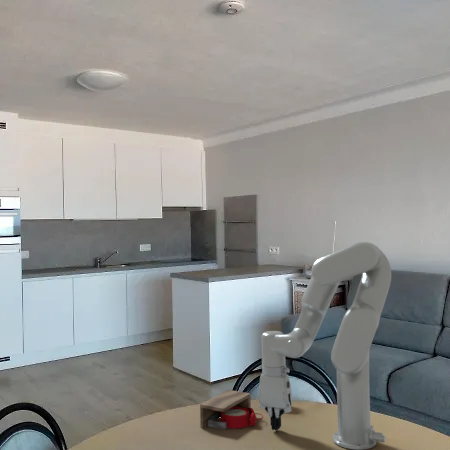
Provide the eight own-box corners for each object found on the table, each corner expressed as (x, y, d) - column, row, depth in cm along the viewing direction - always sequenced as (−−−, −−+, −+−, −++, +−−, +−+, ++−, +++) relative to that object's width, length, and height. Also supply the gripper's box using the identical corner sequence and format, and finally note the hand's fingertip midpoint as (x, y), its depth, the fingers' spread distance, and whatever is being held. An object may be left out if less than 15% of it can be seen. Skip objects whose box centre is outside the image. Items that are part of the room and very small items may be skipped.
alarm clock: (215, 408, 166) (257, 396, 167) (219, 426, 166) (261, 414, 167) (217, 419, 156) (261, 406, 157) (221, 438, 156) (266, 425, 157)
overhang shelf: (250, 415, 168) (250, 393, 169) (223, 432, 153) (223, 408, 153) (228, 411, 173) (228, 389, 173) (200, 427, 158) (200, 404, 158)
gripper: (300, 370, 154) (302, 428, 153) (258, 365, 162) (260, 421, 161) (290, 376, 147) (292, 437, 147) (247, 370, 155) (249, 428, 154)
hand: (276, 428), depth 154 cm, fingers closed
